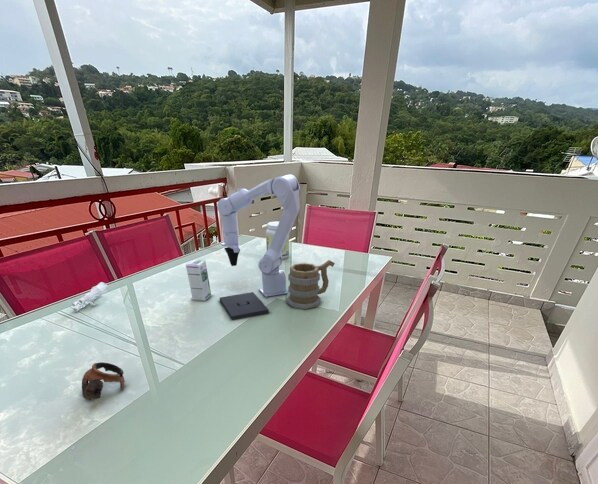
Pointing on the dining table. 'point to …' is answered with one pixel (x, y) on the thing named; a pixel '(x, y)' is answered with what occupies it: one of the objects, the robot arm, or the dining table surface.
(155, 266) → the dining table surface
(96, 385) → the brown looped strap
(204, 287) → the syrup box
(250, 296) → the black pad
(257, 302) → the charcoal pad
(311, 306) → the tankard
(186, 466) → the dining table surface
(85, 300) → the toy cannon
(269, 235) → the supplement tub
